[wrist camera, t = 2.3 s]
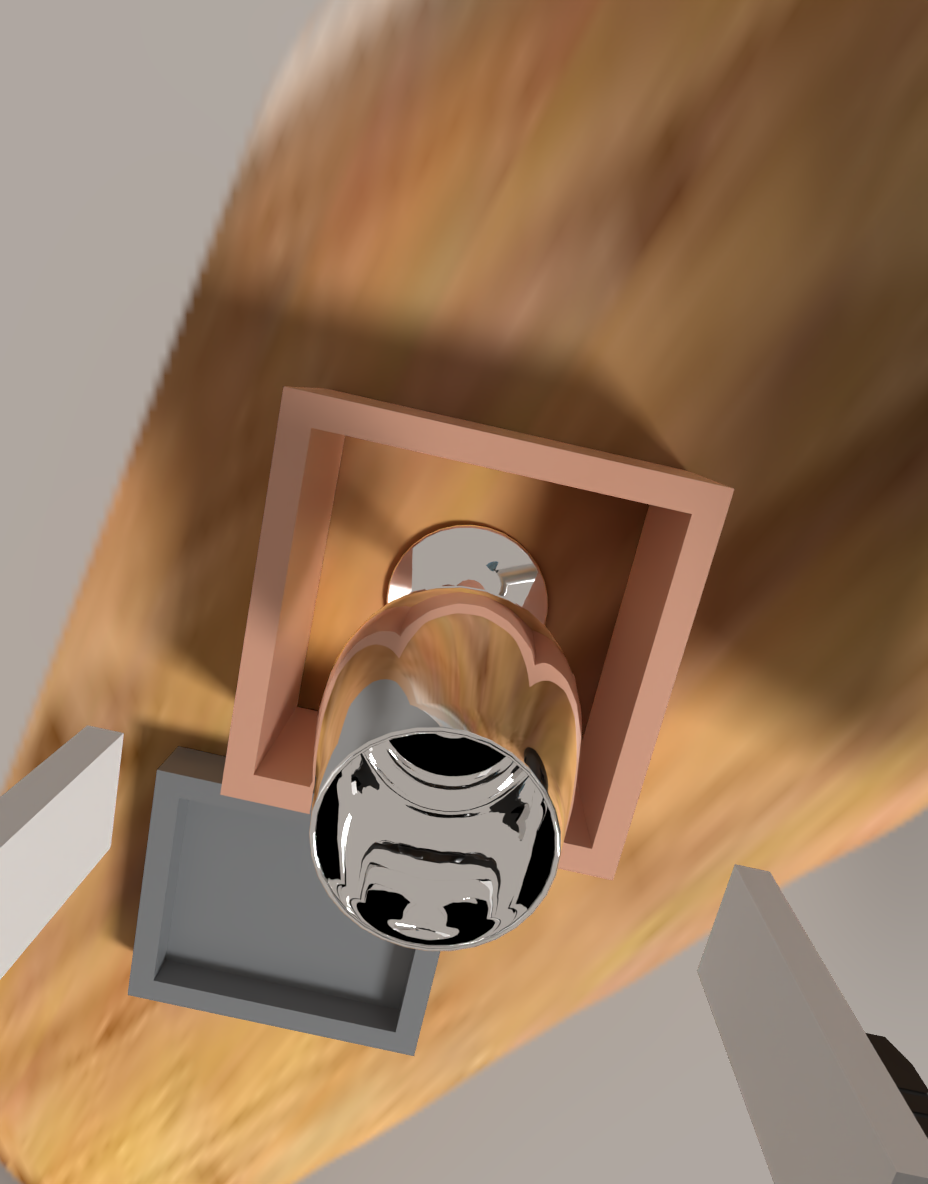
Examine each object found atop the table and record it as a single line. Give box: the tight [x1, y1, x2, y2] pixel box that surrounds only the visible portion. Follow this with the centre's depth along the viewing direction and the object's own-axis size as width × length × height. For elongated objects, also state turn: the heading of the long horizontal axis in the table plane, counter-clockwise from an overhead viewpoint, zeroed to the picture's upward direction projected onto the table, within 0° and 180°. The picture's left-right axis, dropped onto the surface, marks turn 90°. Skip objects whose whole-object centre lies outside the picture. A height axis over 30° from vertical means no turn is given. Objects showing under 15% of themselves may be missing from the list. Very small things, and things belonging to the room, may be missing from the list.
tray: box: [128, 746, 440, 1056], centre depth 39 cm, size 15×13×2 cm
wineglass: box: [309, 525, 582, 951], centre depth 26 cm, size 8×8×20 cm
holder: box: [220, 386, 734, 880], centre depth 33 cm, size 16×16×7 cm
